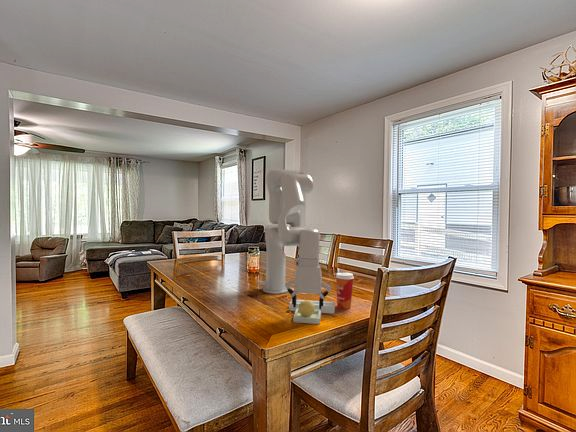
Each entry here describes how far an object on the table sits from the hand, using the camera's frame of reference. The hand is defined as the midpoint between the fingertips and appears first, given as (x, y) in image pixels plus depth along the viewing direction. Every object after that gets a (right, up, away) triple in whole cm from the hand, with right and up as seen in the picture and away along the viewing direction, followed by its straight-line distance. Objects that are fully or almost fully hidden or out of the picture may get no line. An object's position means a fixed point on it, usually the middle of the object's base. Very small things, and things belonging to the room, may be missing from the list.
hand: (307, 307), depth 113 cm
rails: (+2, -4, +9) cm, 10 cm away
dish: (0, -4, 0) cm, 4 cm away
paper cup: (+16, -4, +14) cm, 22 cm away
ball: (0, -1, 0) cm, 1 cm away
